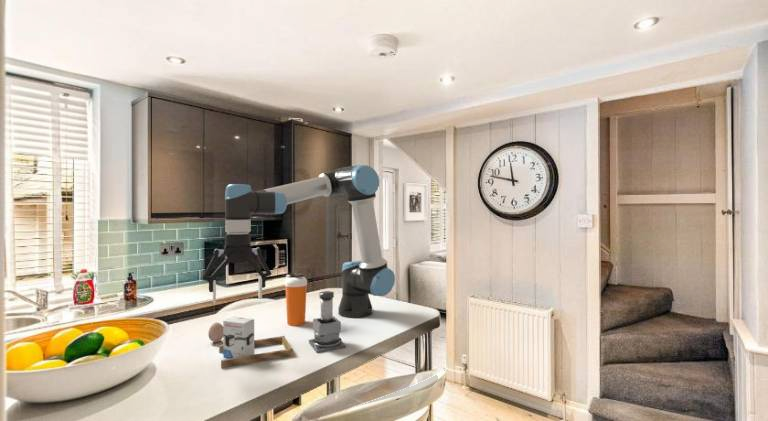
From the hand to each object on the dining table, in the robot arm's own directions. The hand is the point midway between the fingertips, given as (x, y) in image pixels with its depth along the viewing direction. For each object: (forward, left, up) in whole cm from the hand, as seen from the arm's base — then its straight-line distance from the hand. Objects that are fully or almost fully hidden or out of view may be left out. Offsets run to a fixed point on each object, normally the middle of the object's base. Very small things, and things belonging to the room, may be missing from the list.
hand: (237, 300), depth 120 cm
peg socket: (-28, +3, -18) cm, 34 cm away
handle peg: (-28, +3, -13) cm, 31 cm away
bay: (-5, 0, -18) cm, 19 cm away
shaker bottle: (-24, -26, -18) cm, 40 cm away
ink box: (0, 0, -18) cm, 18 cm away
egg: (+6, -17, -18) cm, 26 cm away
